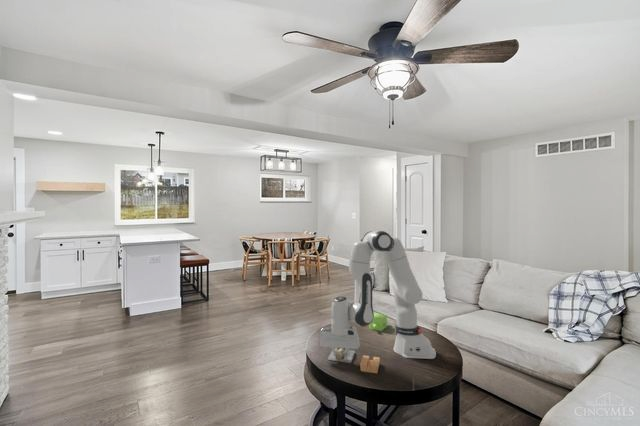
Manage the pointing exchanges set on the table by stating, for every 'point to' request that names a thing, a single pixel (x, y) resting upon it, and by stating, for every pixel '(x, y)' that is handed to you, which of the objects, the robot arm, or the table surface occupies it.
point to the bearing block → (344, 359)
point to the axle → (340, 354)
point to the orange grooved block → (370, 364)
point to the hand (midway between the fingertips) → (339, 355)
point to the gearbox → (378, 322)
